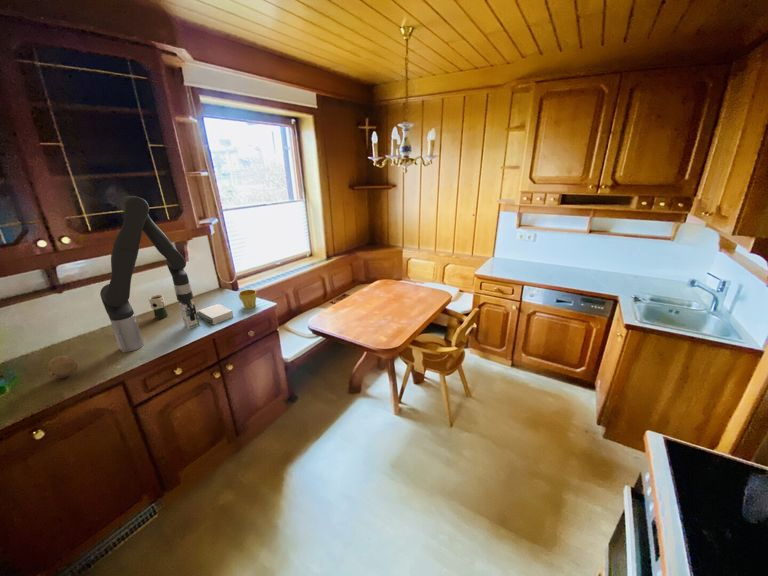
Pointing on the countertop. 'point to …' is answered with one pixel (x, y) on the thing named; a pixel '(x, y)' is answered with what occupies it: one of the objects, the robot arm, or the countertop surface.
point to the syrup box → (186, 317)
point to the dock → (215, 314)
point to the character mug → (158, 306)
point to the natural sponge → (61, 367)
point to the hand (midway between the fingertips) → (190, 318)
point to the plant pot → (248, 298)
